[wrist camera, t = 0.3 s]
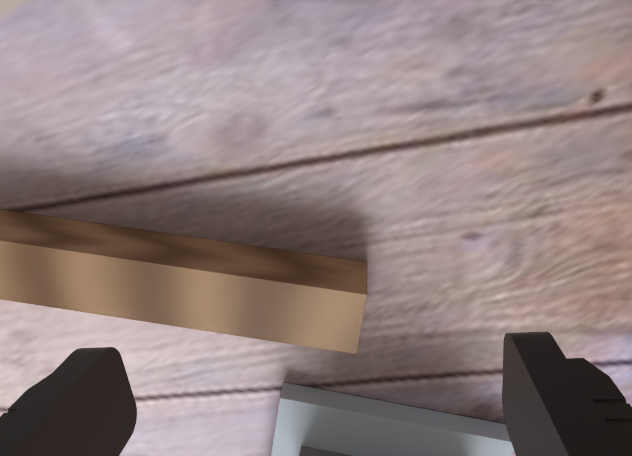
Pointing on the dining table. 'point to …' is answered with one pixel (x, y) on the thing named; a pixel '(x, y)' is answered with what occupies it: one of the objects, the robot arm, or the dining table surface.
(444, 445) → the fulcrum board
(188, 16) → the dining table surface
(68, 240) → the walnut bar
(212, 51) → the dining table surface
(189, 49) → the dining table surface
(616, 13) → the dining table surface
